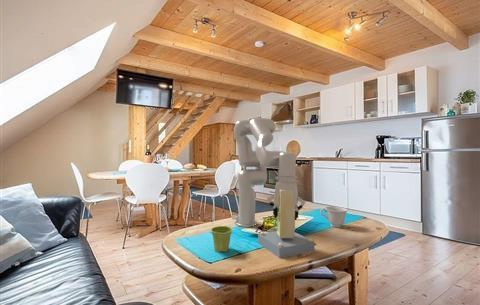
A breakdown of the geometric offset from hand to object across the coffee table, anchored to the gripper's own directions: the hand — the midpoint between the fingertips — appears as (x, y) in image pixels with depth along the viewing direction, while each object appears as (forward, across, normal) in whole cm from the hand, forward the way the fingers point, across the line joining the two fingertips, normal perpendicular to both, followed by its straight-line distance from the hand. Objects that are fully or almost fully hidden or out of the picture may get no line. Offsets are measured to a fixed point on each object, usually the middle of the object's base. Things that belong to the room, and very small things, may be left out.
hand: (285, 218), depth 116 cm
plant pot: (+13, -25, -14) cm, 31 cm away
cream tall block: (+8, 0, 0) cm, 8 cm away
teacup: (+13, +20, +43) cm, 49 cm away
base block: (+13, 0, 0) cm, 13 cm away
